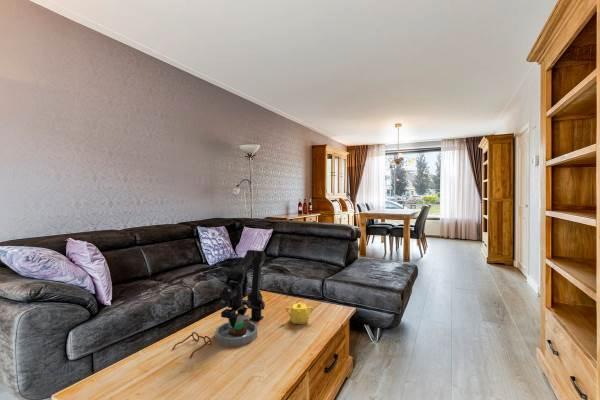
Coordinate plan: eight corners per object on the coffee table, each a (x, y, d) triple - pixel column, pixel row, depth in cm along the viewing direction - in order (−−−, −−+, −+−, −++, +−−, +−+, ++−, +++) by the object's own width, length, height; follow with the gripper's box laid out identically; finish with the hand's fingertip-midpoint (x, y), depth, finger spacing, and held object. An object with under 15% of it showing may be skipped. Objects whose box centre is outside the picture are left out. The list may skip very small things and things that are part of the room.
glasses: (212, 346, 141) (212, 336, 141) (189, 360, 130) (189, 348, 130) (193, 340, 148) (193, 330, 148) (170, 352, 136) (170, 341, 136)
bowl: (231, 324, 165) (231, 318, 164) (264, 330, 157) (264, 323, 157) (206, 341, 145) (206, 334, 145) (243, 349, 138) (243, 342, 138)
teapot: (316, 322, 167) (316, 304, 167) (299, 329, 158) (299, 310, 158) (300, 315, 177) (300, 298, 177) (283, 321, 169) (283, 303, 169)
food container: (220, 333, 150) (222, 313, 151) (228, 330, 155) (229, 310, 156) (241, 338, 145) (243, 317, 146) (248, 334, 151) (249, 314, 152)
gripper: (233, 287, 162) (233, 315, 163) (211, 298, 145) (211, 330, 145) (251, 290, 158) (251, 318, 158) (231, 301, 141) (231, 334, 141)
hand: (236, 325), depth 151 cm, fingers closed on food container, 6 cm apart
